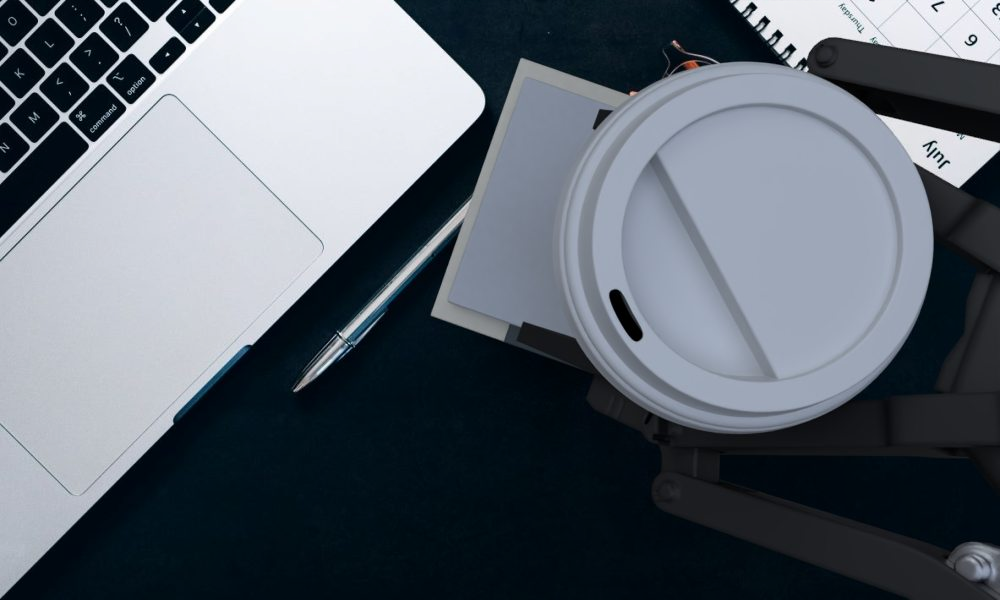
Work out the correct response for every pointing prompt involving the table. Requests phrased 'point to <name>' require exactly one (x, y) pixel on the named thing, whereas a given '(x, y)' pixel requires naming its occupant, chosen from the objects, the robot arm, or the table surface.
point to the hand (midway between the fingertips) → (580, 235)
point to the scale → (521, 208)
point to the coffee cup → (742, 247)
